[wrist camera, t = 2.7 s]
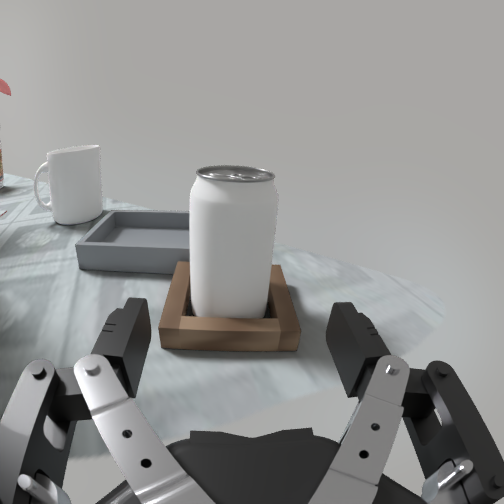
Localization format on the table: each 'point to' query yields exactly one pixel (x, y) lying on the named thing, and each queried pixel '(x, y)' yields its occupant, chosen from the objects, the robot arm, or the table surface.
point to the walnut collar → (229, 321)
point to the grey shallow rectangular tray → (136, 242)
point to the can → (231, 241)
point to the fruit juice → (1, 170)
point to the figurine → (4, 88)
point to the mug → (73, 184)
